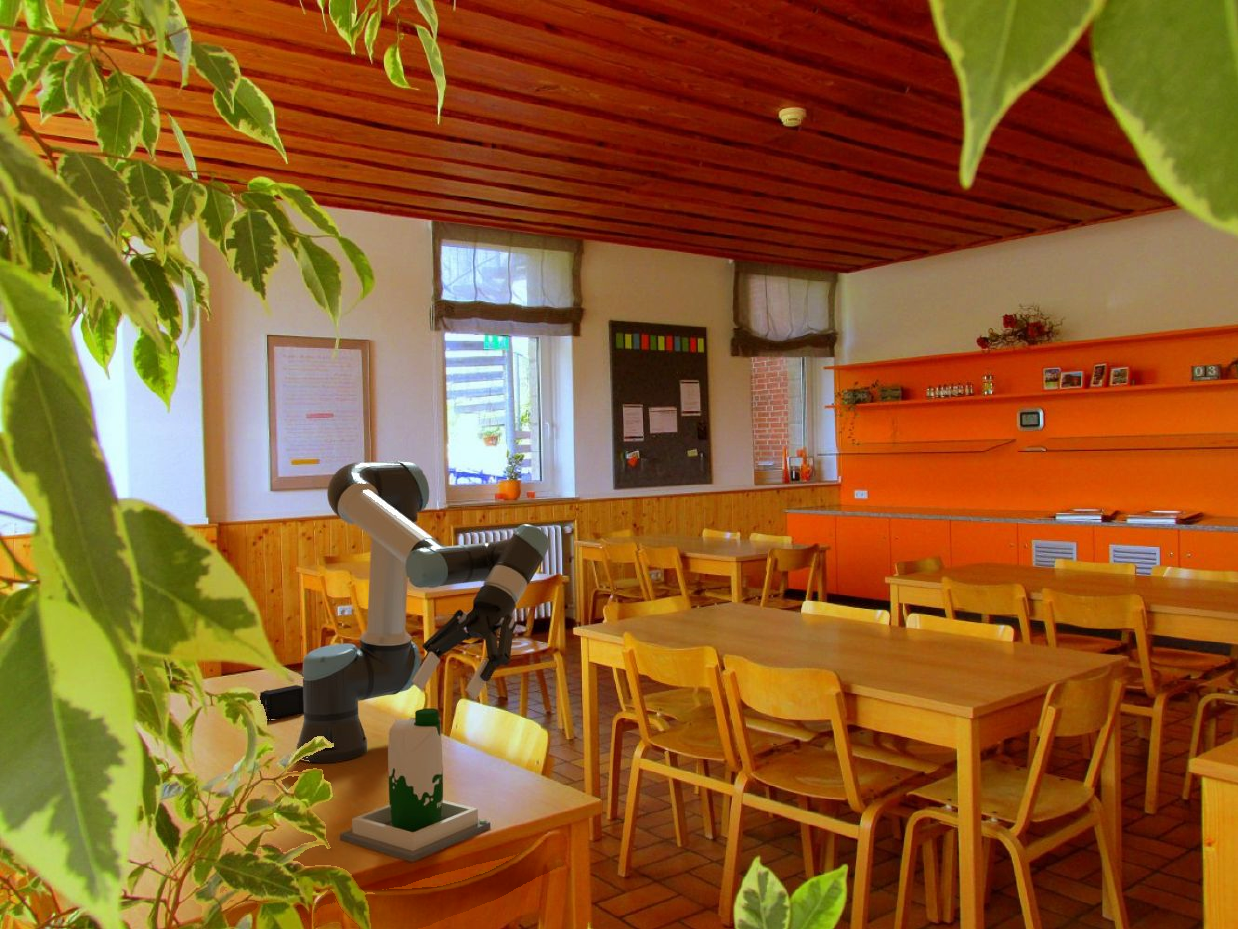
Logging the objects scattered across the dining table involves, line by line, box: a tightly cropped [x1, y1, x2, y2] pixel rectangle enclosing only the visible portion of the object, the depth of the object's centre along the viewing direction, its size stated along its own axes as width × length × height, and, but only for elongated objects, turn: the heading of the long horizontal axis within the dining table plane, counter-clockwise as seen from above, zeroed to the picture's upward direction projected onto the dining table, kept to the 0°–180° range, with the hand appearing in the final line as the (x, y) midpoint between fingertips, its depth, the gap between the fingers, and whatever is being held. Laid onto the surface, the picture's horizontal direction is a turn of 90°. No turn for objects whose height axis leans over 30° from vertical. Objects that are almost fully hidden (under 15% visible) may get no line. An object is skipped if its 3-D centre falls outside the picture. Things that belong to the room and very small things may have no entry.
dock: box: [339, 799, 491, 863], centre depth 176 cm, size 18×18×4 cm
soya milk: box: [387, 707, 444, 832], centre depth 176 cm, size 9×9×20 cm
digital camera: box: [259, 684, 304, 722], centre depth 263 cm, size 10×5×7 cm, turn 139°
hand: (443, 690), depth 182 cm, fingers open, 13 cm apart
